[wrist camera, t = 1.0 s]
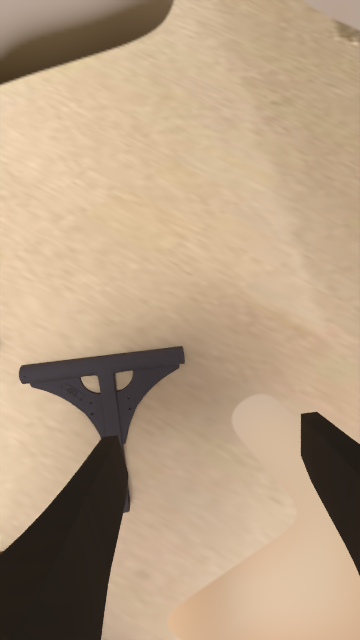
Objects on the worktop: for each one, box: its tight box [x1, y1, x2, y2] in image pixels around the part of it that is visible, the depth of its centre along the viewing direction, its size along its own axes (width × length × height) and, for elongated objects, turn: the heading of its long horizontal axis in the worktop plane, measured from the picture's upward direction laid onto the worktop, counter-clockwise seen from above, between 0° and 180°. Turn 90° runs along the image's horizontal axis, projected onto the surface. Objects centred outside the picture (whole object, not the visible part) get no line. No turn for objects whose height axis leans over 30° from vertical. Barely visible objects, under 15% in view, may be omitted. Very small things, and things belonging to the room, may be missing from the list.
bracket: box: [19, 346, 184, 513], centre depth 27 cm, size 14×15×3 cm
